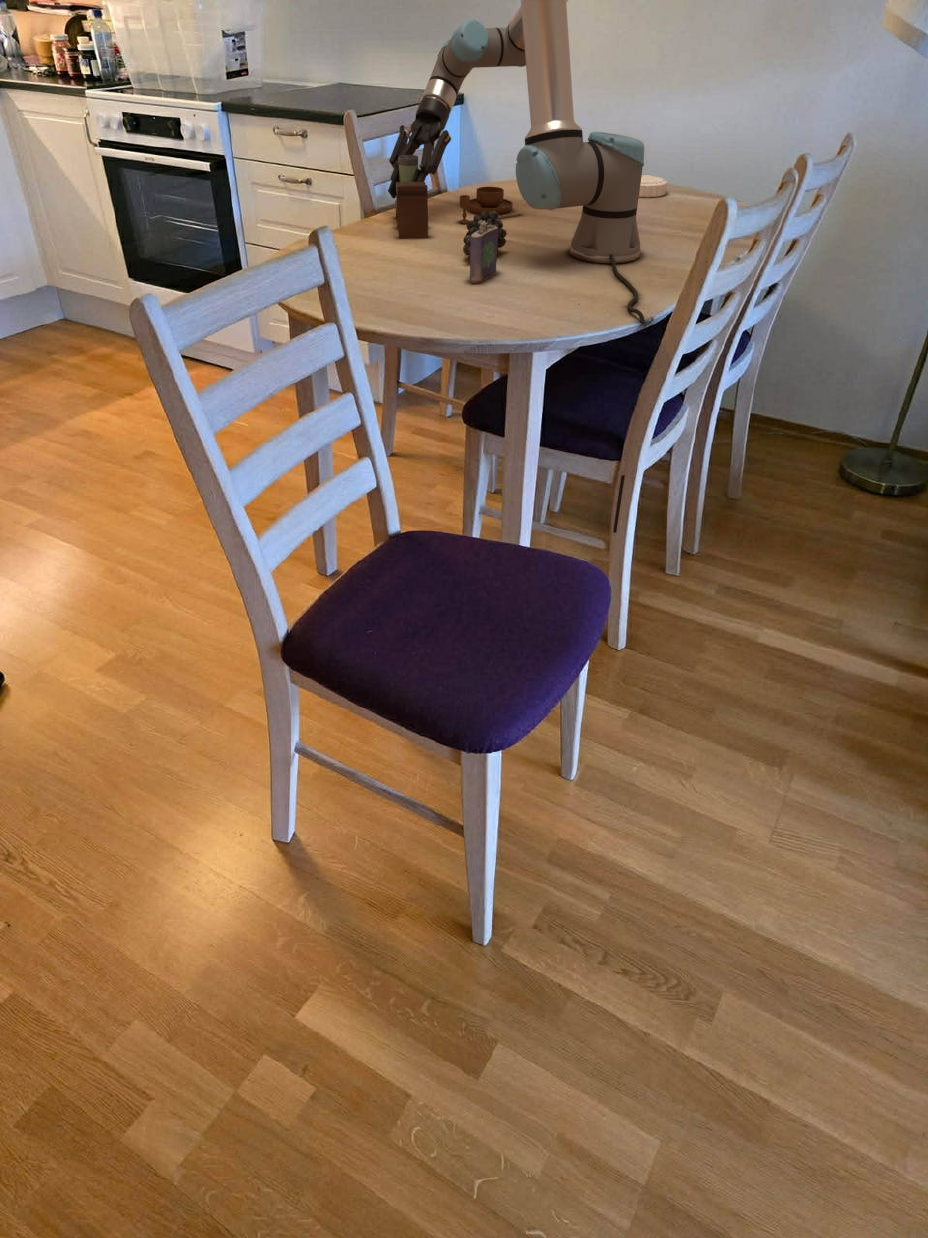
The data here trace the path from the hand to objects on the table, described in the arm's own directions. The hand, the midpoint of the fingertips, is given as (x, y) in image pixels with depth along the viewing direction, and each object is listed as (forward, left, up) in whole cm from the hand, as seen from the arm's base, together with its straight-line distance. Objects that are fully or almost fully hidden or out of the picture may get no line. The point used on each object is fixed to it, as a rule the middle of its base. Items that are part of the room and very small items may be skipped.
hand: (400, 195), depth 199 cm
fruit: (-28, -16, -6) cm, 33 cm away
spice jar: (+3, -2, -2) cm, 4 cm away
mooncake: (+31, -69, -6) cm, 75 cm away
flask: (-43, -15, -6) cm, 46 cm away
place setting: (+11, -20, -6) cm, 23 cm away
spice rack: (-3, -2, -6) cm, 7 cm away
